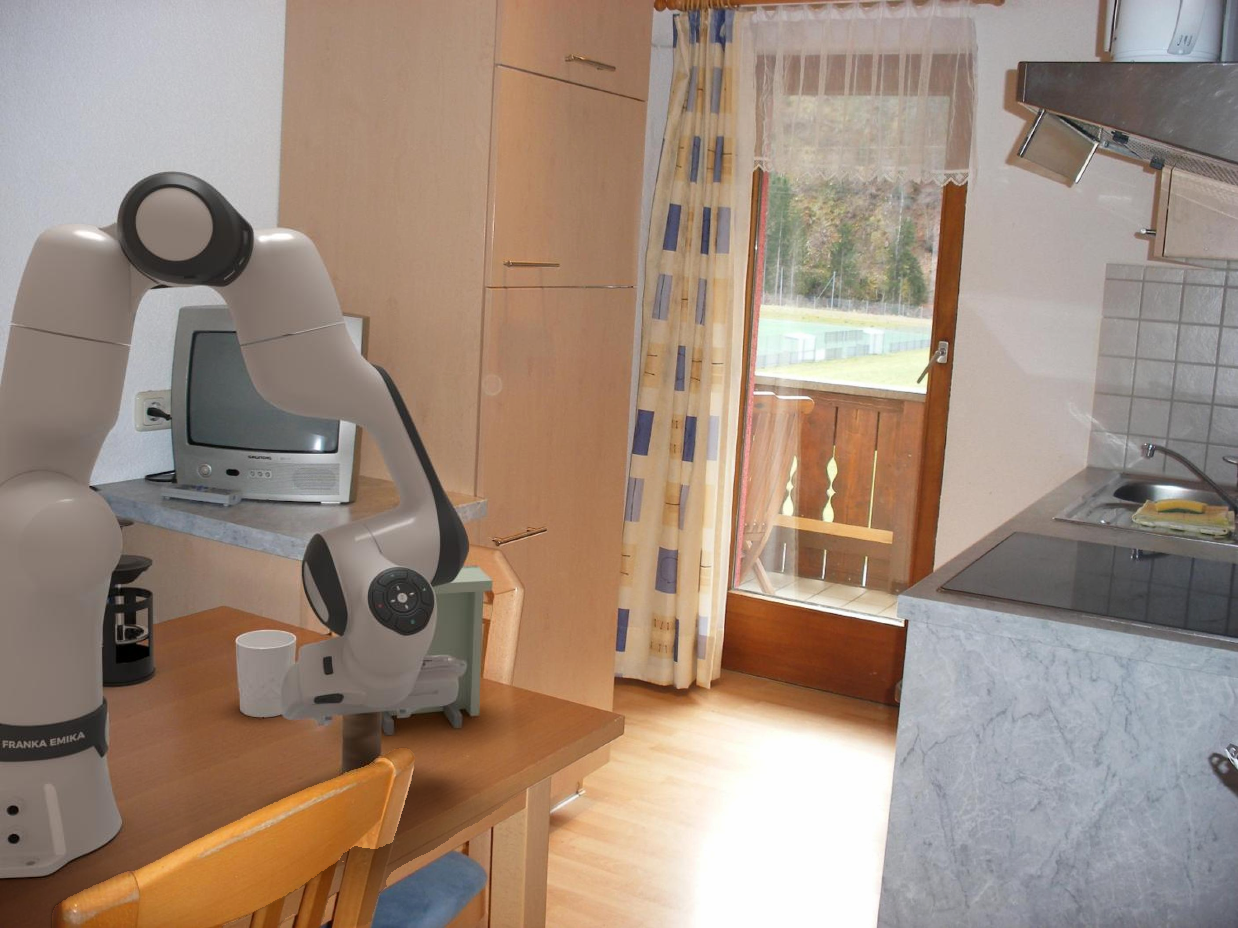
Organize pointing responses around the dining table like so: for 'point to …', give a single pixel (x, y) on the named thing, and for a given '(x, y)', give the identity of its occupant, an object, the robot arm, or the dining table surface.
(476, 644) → the shelf
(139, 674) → the french press
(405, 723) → the dining table surface
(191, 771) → the dining table surface
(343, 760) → the pepper mill
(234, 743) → the dining table surface
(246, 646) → the white cup
